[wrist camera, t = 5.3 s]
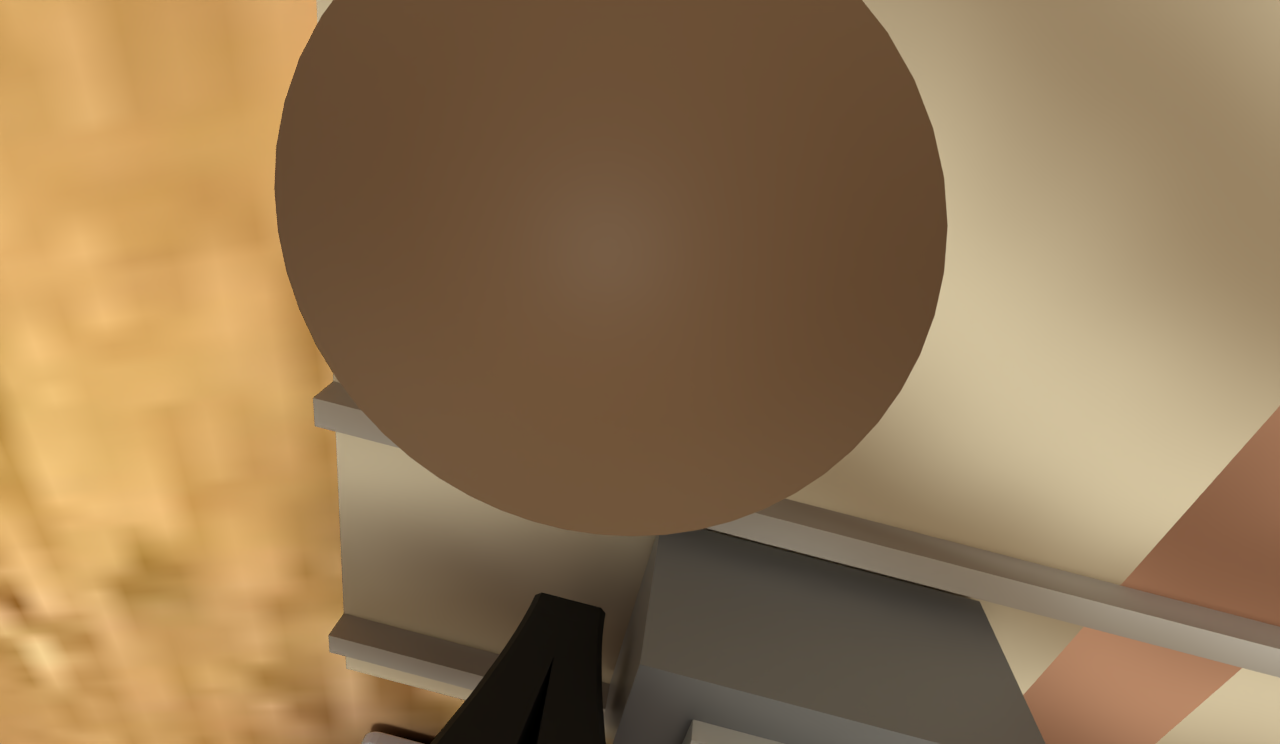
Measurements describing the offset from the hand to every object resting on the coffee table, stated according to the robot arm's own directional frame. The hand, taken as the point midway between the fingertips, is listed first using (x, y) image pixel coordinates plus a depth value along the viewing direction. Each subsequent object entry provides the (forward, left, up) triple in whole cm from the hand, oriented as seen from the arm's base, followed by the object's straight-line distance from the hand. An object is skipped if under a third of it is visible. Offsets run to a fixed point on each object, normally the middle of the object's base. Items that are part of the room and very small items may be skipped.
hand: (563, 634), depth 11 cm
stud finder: (0, -4, -1) cm, 4 cm away
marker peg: (+9, 0, -1) cm, 9 cm away
